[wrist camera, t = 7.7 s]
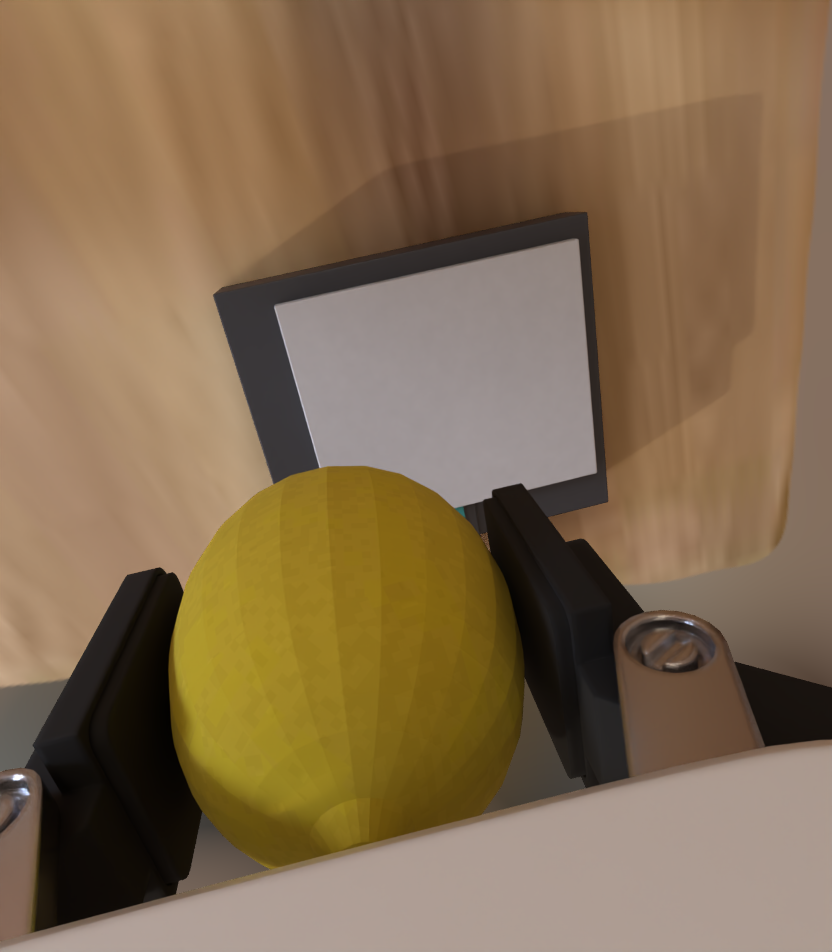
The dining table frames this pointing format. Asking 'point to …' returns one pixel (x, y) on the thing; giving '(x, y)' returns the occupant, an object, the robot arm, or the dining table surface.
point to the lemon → (344, 667)
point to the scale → (434, 365)
